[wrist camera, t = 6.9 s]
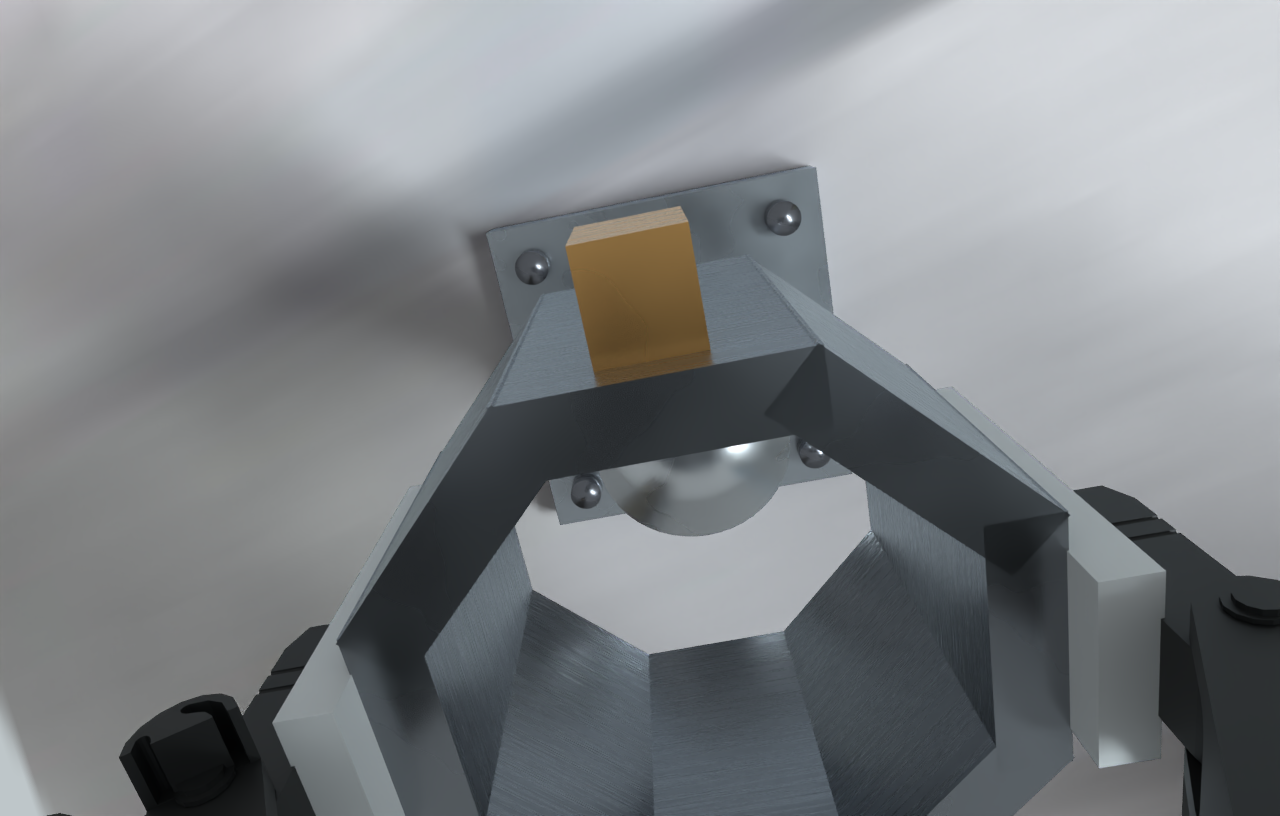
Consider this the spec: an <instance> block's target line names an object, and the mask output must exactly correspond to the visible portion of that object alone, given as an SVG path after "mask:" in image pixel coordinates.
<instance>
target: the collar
mask: <svg viewBox="0 0 1280 816" xmlns="http://www.w3.org/2000/svg"><path fill="white" fill-rule="evenodd" d="M565 248H566V252H567V257H568V261H569V266H570V270H571V274H572V279H573V283H574V289H569V290H564V291H559V292H554V293H549V294H545V293H543V295H541V296H540V298H539V300H538V302H537V304H536V306H535V307H534V309H533V311H532V312H531V314H530V315H529V317H528V318H527V320H526V321H525V323H524V325H523V326H522V328H521V329H520V331H519V332H518V334H517V336H516V337H515V339H514V340H513V342H512V343H511V345H510V346H509V348H508V350H507V351H506V353H505V354H504V356H503V357H502V359H501V361H500V362H499V364H498V365H497V367H496V368H495V370H494V371H493V373H492V375H491V376H490V378H489V379H488V381H487V382H486V384H485V386H484V387H483V389H482V390H481V392H480V393H479V395H478V396H477V398H476V400H475V401H474V403H473V404H472V406H471V407H470V409H469V411H468V412H467V414H466V415H465V417H464V418H463V420H462V421H461V423H460V425H459V426H458V428H457V429H456V431H455V432H454V434H453V436H452V437H451V439H450V440H449V442H448V443H447V445H446V446H445V448H444V450H443V451H441V452H440V454H439V456H438V458H437V459H436V461H435V463H434V465H433V467H432V468H431V470H430V472H429V474H428V476H427V477H426V479H425V481H424V483H423V485H422V486H421V488H420V490H419V492H418V494H417V495H416V497H415V499H414V501H413V503H412V504H411V506H410V508H409V510H408V512H407V513H406V515H405V517H404V519H403V521H402V522H401V524H400V526H399V528H398V530H397V531H396V533H395V535H394V537H393V539H392V540H391V542H390V544H389V546H388V548H387V549H386V551H385V553H384V555H383V557H382V558H381V560H380V562H379V564H378V566H377V567H376V569H375V571H374V573H373V575H372V576H371V578H370V580H369V582H368V584H367V585H366V587H365V589H364V591H363V593H362V595H361V596H360V598H359V600H358V602H357V604H356V605H355V607H354V609H353V611H352V613H351V614H350V616H349V618H348V620H347V622H346V623H345V625H344V627H343V629H342V631H341V632H340V634H339V636H338V638H337V643H336V645H338V646H339V648H340V651H341V653H342V656H343V659H344V661H345V664H346V667H347V669H348V672H349V674H350V675H352V677H353V680H354V683H355V685H356V688H357V690H358V693H359V696H360V698H361V701H362V704H363V706H364V709H365V711H366V714H367V717H368V719H369V722H370V725H371V727H372V730H373V732H374V735H375V738H376V740H377V743H378V746H379V748H380V751H381V753H382V756H383V759H384V761H385V764H386V766H387V769H388V772H389V774H390V777H391V780H392V782H393V785H394V787H395V790H396V793H397V795H398V798H399V801H400V803H401V806H402V808H403V811H404V814H405V816H1013V815H1014V814H1015V813H1016V812H1017V811H1018V810H1019V809H1021V808H1022V807H1023V806H1024V805H1025V804H1026V803H1027V802H1028V801H1029V800H1030V799H1031V798H1032V797H1033V796H1034V795H1035V794H1036V793H1037V792H1039V791H1040V790H1041V789H1042V788H1043V787H1044V786H1045V785H1046V784H1047V783H1048V782H1049V781H1050V780H1051V779H1052V778H1053V777H1054V776H1055V775H1057V774H1058V773H1059V772H1060V771H1061V770H1062V769H1063V768H1064V767H1065V766H1066V765H1067V764H1068V763H1069V762H1070V761H1073V758H1075V757H1074V755H1073V738H1072V730H1071V728H1070V681H1069V629H1068V577H1067V551H1069V524H1068V517H1069V516H1070V514H1069V513H1068V510H1067V509H1065V508H1064V507H1063V506H1062V505H1061V504H1060V503H1059V502H1058V501H1057V500H1056V499H1054V498H1053V497H1052V496H1051V495H1050V494H1049V493H1048V492H1047V491H1046V490H1045V489H1044V488H1042V487H1041V486H1040V485H1039V484H1038V483H1037V482H1036V481H1035V480H1034V479H1033V478H1031V477H1030V476H1029V475H1028V474H1027V473H1026V472H1025V471H1024V470H1023V469H1022V468H1020V467H1019V466H1018V465H1017V464H1016V463H1015V462H1014V461H1013V460H1012V459H1011V458H1009V457H1008V456H1007V455H1006V454H1005V453H1004V452H1003V451H1002V450H1001V449H1000V448H999V447H997V446H996V445H995V444H994V443H993V442H992V441H991V440H990V439H989V438H988V437H986V436H985V435H984V434H983V433H982V432H981V431H980V430H979V429H978V428H977V427H975V426H974V425H973V424H972V423H971V422H970V421H969V420H968V419H967V418H966V417H965V416H963V415H962V414H961V413H960V412H959V411H958V410H957V409H956V408H955V407H954V406H952V405H951V404H950V403H949V402H948V401H947V400H946V399H945V398H944V397H943V396H941V395H940V394H939V393H938V392H937V391H936V390H935V389H934V388H933V387H932V386H931V385H929V384H928V383H927V382H926V381H925V380H924V379H923V378H922V377H921V376H920V375H918V374H917V373H916V372H915V371H914V370H913V369H912V368H911V367H910V366H909V365H907V364H904V363H903V362H901V361H900V360H898V359H897V358H895V357H894V356H892V355H891V354H890V353H888V352H887V351H885V350H884V349H882V348H881V347H880V346H878V345H877V344H875V343H874V342H872V341H871V340H869V339H868V338H867V337H865V336H864V335H862V334H861V333H859V332H858V331H857V330H855V329H854V328H852V327H851V326H849V325H848V324H846V323H845V322H844V321H842V320H841V319H839V318H838V317H836V316H835V315H834V314H832V313H831V312H829V311H828V310H826V309H825V308H823V307H822V306H821V305H819V304H818V303H816V302H815V301H813V300H812V299H811V298H809V297H808V296H806V295H805V294H803V293H802V292H800V291H799V290H798V289H796V288H795V287H793V286H792V285H790V284H789V283H787V282H786V281H785V280H783V279H782V278H780V277H779V276H777V275H776V274H775V273H773V272H772V271H770V270H769V269H767V268H766V267H764V266H763V265H762V264H760V263H759V262H757V261H756V260H754V259H753V258H752V257H751V256H750V255H749V254H746V253H745V254H744V255H741V256H736V257H731V258H726V259H721V260H716V261H711V262H706V263H701V264H696V262H695V256H694V250H693V245H692V239H691V233H690V227H689V222H688V220H687V218H686V216H685V214H684V212H683V210H682V208H681V207H680V206H677V207H672V208H667V209H662V210H657V211H652V212H647V213H642V214H637V215H632V216H628V217H623V218H618V219H613V220H608V221H603V222H598V223H593V224H588V225H583V226H578V227H574V229H573V231H572V233H571V235H570V237H569V239H568V241H567V243H566V246H565ZM792 435H796V436H798V437H799V438H801V439H802V440H804V441H805V442H807V443H808V444H810V445H812V446H813V447H815V448H816V449H818V450H819V451H821V452H822V453H824V454H825V455H827V456H828V457H830V458H832V459H833V460H835V461H836V462H838V463H839V464H841V465H842V466H844V467H845V468H847V469H848V470H850V471H852V472H853V473H855V474H856V475H858V476H859V477H861V478H862V479H864V480H865V481H866V489H867V498H868V507H869V516H870V525H871V530H870V531H869V533H868V534H867V535H866V536H865V537H864V538H863V540H862V541H861V542H860V543H859V544H858V545H857V547H856V548H855V549H854V550H853V551H852V552H851V554H850V555H849V556H848V557H847V558H846V559H845V561H844V562H843V563H842V564H841V565H840V566H839V568H838V569H837V570H836V571H835V572H834V573H833V575H832V576H831V577H830V578H829V579H828V580H827V582H826V583H825V584H824V585H823V586H822V587H821V589H820V590H819V591H818V592H817V593H816V594H815V596H814V597H813V598H812V599H811V600H810V601H809V603H808V604H807V605H806V606H805V607H804V608H803V610H802V611H801V612H800V613H799V614H798V615H797V617H796V618H795V619H794V620H793V621H792V622H791V624H790V625H789V626H788V627H787V628H786V629H785V631H783V632H777V633H772V634H766V635H760V636H754V637H748V638H742V639H737V640H731V641H725V642H719V643H713V644H707V645H702V646H696V647H690V648H684V649H678V650H672V651H667V652H661V653H655V654H647V653H645V652H643V651H641V650H640V649H638V648H636V647H634V646H632V645H631V644H629V643H627V642H625V641H623V640H622V639H620V638H618V637H616V636H615V635H613V634H611V633H609V632H607V631H606V630H604V629H602V628H600V627H598V626H597V625H595V624H593V623H591V622H589V621H588V620H586V619H584V618H582V617H580V616H579V615H577V614H575V613H573V612H571V611H570V610H568V609H566V608H564V607H563V606H561V605H559V604H557V603H555V602H554V601H552V600H550V599H548V598H546V597H545V596H543V595H541V594H539V593H537V592H536V591H534V590H532V586H531V583H530V579H529V576H528V572H527V568H526V565H525V561H524V558H523V554H522V551H521V547H520V543H519V540H518V536H517V533H516V529H515V525H516V523H517V522H518V520H519V519H520V517H521V516H522V515H523V513H524V512H525V510H526V509H527V507H528V506H529V504H530V503H531V502H532V500H533V499H534V497H535V496H536V494H537V493H538V491H539V490H540V489H541V487H542V486H543V484H544V483H545V481H548V480H553V479H559V478H564V477H569V476H575V475H580V474H586V473H591V472H596V471H602V470H607V469H613V468H618V467H624V466H629V465H634V464H640V463H645V462H651V461H656V460H662V459H667V458H672V457H678V456H683V455H689V454H694V453H700V452H705V451H710V450H716V449H721V448H727V447H732V446H738V445H743V444H748V443H754V442H759V441H765V440H770V439H775V438H781V437H786V436H792Z"/></svg>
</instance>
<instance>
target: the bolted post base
mask: <svg viewBox="0 0 1280 816" xmlns="http://www.w3.org/2000/svg"><path fill="white" fill-rule="evenodd" d="M677 206H680V207H681V208H682V210H683V212H684V214H685V216H686V218H687V220H688V222H689V227H690V233H691V239H692V245H693V250H694V256H695V262H696V264H701V263H706V262H711V261H716V260H721V259H726V258H731V257H736V256H741V255H744V254H745V253H746V254H749V255H750V256H751V257H752V258H753V259H754V260H756V261H757V262H759V263H760V264H762V265H763V266H764V267H766V268H767V269H769V270H770V271H772V272H773V273H775V274H776V275H777V276H779V277H780V278H782V279H783V280H785V281H786V282H787V283H789V284H790V285H792V286H793V287H795V288H796V289H798V290H799V291H800V292H802V293H803V294H805V295H806V296H808V297H809V298H811V299H812V300H813V301H815V302H816V303H818V304H819V305H821V306H822V307H823V308H825V309H826V310H828V311H829V312H831V313H832V314H833V306H832V297H831V289H830V281H829V272H828V264H827V255H826V247H825V238H824V230H823V222H822V213H821V205H820V196H819V188H818V179H817V171H816V167H812V166H805V167H800V168H795V169H790V170H785V171H780V172H775V173H770V174H765V175H760V176H755V177H750V178H745V179H740V180H735V181H730V182H725V183H721V184H716V185H711V186H706V187H701V188H696V189H691V190H686V191H681V192H676V193H671V194H666V195H661V196H656V197H651V198H646V199H641V200H636V201H631V202H626V203H621V204H616V205H611V206H606V207H601V208H596V209H591V210H586V211H581V212H576V213H571V214H566V215H561V216H556V217H551V218H546V219H541V220H536V221H531V222H526V223H521V224H516V225H511V226H506V227H501V228H496V229H492V230H490V231H489V232H488V233H486V235H487V239H488V243H489V247H490V251H491V255H492V259H493V263H494V267H495V271H496V275H497V279H498V283H499V287H500V290H501V294H502V298H503V302H504V306H505V310H506V314H507V318H508V322H509V326H510V330H511V334H512V338H513V340H514V339H515V337H516V336H517V334H518V332H519V331H520V329H521V328H522V326H523V325H524V323H525V321H526V320H527V318H528V317H529V315H530V314H531V312H532V311H533V309H534V307H535V306H536V304H537V302H538V300H539V298H540V296H541V295H543V293H545V294H549V293H554V292H559V291H564V290H569V289H574V283H573V279H572V274H571V270H570V266H569V261H568V257H567V252H566V248H565V246H566V243H567V241H568V239H569V237H570V235H571V233H572V231H573V229H574V227H578V226H583V225H588V224H593V223H598V222H603V221H608V220H613V219H618V218H623V217H628V216H632V215H637V214H642V213H647V212H652V211H657V210H662V209H667V208H672V207H677ZM847 474H852V471H850V470H848V469H847V468H845V467H844V466H842V465H841V464H839V463H838V462H836V461H835V460H833V459H832V458H830V457H828V456H827V455H825V454H824V453H822V452H821V451H819V450H818V449H816V448H815V447H813V446H812V445H810V444H808V443H807V442H805V441H804V440H802V439H801V438H799V437H798V436H796V435H792V436H786V437H781V438H775V439H770V440H765V441H759V442H754V443H748V444H743V445H738V446H732V447H727V448H721V449H716V450H710V451H705V452H700V453H694V454H689V455H683V456H678V457H672V458H667V459H662V460H656V461H651V462H645V463H640V464H634V465H629V466H624V467H618V468H613V469H607V470H602V471H596V472H591V473H586V474H580V475H575V476H569V477H564V478H559V479H553V480H549V483H550V487H551V491H552V495H553V499H554V503H555V507H556V511H557V515H558V519H559V522H560V525H563V524H568V523H574V522H580V521H586V520H591V519H597V518H603V517H608V516H614V515H620V514H625V513H627V514H628V515H629V516H630V517H632V518H633V519H635V520H636V521H638V522H639V523H641V524H643V525H645V526H647V527H649V528H651V529H654V530H657V531H659V532H663V533H667V534H671V535H679V536H703V535H710V534H715V533H719V532H722V531H725V530H728V529H731V528H733V527H735V526H737V525H739V524H741V523H743V522H745V521H746V520H748V519H749V518H751V517H752V516H754V515H755V514H756V513H757V512H758V511H759V510H761V509H762V508H763V507H764V506H765V505H766V503H767V502H768V501H769V500H770V499H771V498H772V496H773V495H774V493H775V492H776V491H777V489H778V487H779V486H785V485H790V484H796V483H802V482H807V481H813V480H819V479H825V478H830V477H836V476H842V475H847Z"/></svg>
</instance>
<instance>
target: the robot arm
mask: <svg viewBox="0 0 1280 816" xmlns="http://www.w3.org/2000/svg"><path fill="white" fill-rule="evenodd" d="M936 391H937V392H938V393H939V394H940V395H941V396H943V397H944V398H945V399H946V400H947V401H948V402H949V403H950V404H951V405H952V406H954V407H955V408H956V409H957V410H958V411H959V412H960V413H961V414H962V415H963V416H965V417H966V418H967V419H968V420H969V421H970V422H971V423H972V424H973V425H974V426H975V427H977V428H978V429H979V430H980V431H981V432H982V433H983V434H984V435H985V436H986V437H988V438H989V439H990V440H991V441H992V442H993V443H994V444H995V445H996V446H997V447H999V448H1000V449H1001V450H1002V451H1003V452H1004V453H1005V454H1006V455H1007V456H1008V457H1009V458H1011V459H1012V460H1013V461H1014V462H1015V463H1016V464H1017V465H1018V466H1019V467H1020V468H1022V469H1023V470H1024V471H1025V472H1026V473H1027V474H1028V475H1029V476H1030V477H1031V478H1033V479H1034V480H1035V481H1036V482H1037V483H1038V484H1039V485H1040V486H1041V487H1042V488H1044V489H1045V490H1046V491H1047V492H1048V493H1049V494H1050V495H1051V496H1052V497H1053V498H1054V499H1056V500H1057V501H1058V502H1059V503H1060V504H1061V505H1062V506H1063V507H1064V508H1065V509H1067V510H1068V513H1069V514H1070V516H1069V517H1068V524H1069V551H1067V577H1068V629H1069V681H1070V728H1071V730H1072V731H1073V733H1074V734H1075V735H1076V737H1077V738H1078V740H1079V741H1080V742H1081V744H1082V745H1083V747H1084V748H1085V749H1086V751H1087V752H1088V754H1089V755H1090V756H1091V758H1092V759H1093V761H1094V762H1095V763H1096V765H1097V766H1098V768H1104V767H1111V766H1117V765H1123V764H1130V763H1136V762H1142V761H1149V760H1155V759H1161V732H1162V721H1163V722H1164V723H1165V724H1166V725H1167V726H1168V728H1169V729H1170V730H1171V731H1172V732H1173V733H1174V734H1175V736H1176V737H1177V738H1178V739H1179V740H1180V741H1181V742H1182V744H1183V745H1184V746H1185V755H1184V779H1183V803H1182V816H1280V581H1278V580H1273V579H1267V578H1260V577H1254V576H1236V575H1234V574H1233V573H1232V572H1230V571H1229V570H1228V569H1226V568H1225V567H1224V566H1223V565H1221V564H1220V563H1219V562H1217V561H1216V560H1215V559H1213V558H1212V557H1211V556H1210V555H1208V554H1207V553H1206V552H1204V551H1203V550H1202V549H1200V548H1199V547H1198V546H1197V545H1195V544H1194V543H1193V542H1191V541H1190V540H1189V539H1187V538H1186V537H1185V536H1184V535H1182V534H1181V533H1176V529H1174V528H1173V527H1172V526H1171V525H1169V524H1168V523H1167V522H1165V521H1164V520H1163V519H1158V517H1157V515H1156V514H1155V513H1154V512H1152V511H1151V510H1150V509H1148V508H1147V507H1146V506H1145V505H1143V504H1142V503H1141V502H1139V501H1138V500H1137V499H1135V498H1134V497H1131V496H1128V495H1126V494H1123V493H1120V492H1118V491H1115V490H1112V489H1110V488H1107V487H1105V486H1096V487H1091V488H1085V489H1079V490H1074V491H1073V490H1072V489H1070V488H1069V487H1068V486H1067V485H1066V484H1065V483H1063V482H1062V481H1061V480H1060V479H1059V478H1058V477H1056V476H1055V475H1054V474H1053V473H1052V472H1051V471H1049V470H1048V469H1047V468H1046V467H1045V466H1044V465H1042V464H1041V463H1040V462H1039V461H1038V460H1037V459H1036V458H1034V457H1033V456H1032V455H1031V454H1030V453H1029V452H1027V451H1026V450H1025V449H1024V448H1023V447H1022V446H1020V445H1019V444H1018V443H1017V442H1016V441H1015V440H1013V439H1012V438H1011V437H1010V436H1009V435H1008V434H1006V433H1005V432H1004V431H1003V430H1002V429H1001V428H1000V427H998V426H997V425H996V424H995V423H994V422H993V421H991V420H990V419H989V418H988V417H987V416H986V415H984V414H983V413H982V412H981V411H980V410H979V409H977V408H976V407H975V406H974V405H973V404H972V403H970V402H969V401H968V400H967V399H966V398H965V397H963V396H962V395H961V394H960V393H959V392H958V391H957V390H955V389H954V388H953V387H948V388H942V389H937V390H936ZM421 486H422V485H418V486H412V487H410V488H409V489H408V491H407V493H406V494H405V496H404V498H403V500H402V501H401V503H400V505H399V506H398V508H397V510H396V512H395V513H394V515H393V517H392V518H391V520H390V522H389V524H388V525H387V527H386V529H385V530H384V532H383V534H382V536H381V537H380V539H379V541H378V542H377V544H376V546H375V548H374V549H373V551H372V553H371V555H370V556H369V558H368V560H367V561H366V563H365V565H364V567H363V568H362V570H361V572H360V573H359V575H358V577H357V579H356V580H355V582H354V584H353V585H352V587H351V589H350V591H349V592H348V594H347V596H346V597H345V599H344V601H343V603H342V604H341V606H340V608H339V609H338V611H337V613H336V615H335V616H334V618H333V620H332V621H331V623H330V624H327V625H321V626H316V627H310V628H309V629H308V630H307V631H305V632H304V633H303V634H302V635H301V636H300V637H299V638H297V639H296V640H295V641H294V642H293V643H292V644H291V645H289V646H288V647H287V648H286V649H285V650H284V652H283V654H282V655H281V657H280V658H279V660H278V661H277V663H276V664H275V666H274V668H273V669H272V671H271V676H268V677H267V679H266V680H265V682H264V683H263V685H262V686H261V688H260V690H259V694H258V695H256V696H255V697H254V699H253V700H252V702H251V704H250V705H249V707H248V708H247V710H246V711H245V713H244V715H243V716H242V714H241V712H240V710H239V708H238V706H237V704H236V702H235V700H234V698H233V697H230V696H227V695H224V694H211V695H202V696H199V697H196V698H193V699H190V700H187V701H183V702H181V703H179V704H177V705H175V706H173V707H171V708H169V709H167V710H165V711H163V712H161V713H160V714H158V715H157V716H155V717H154V718H153V719H151V720H150V721H149V722H147V723H146V724H144V725H143V726H142V727H140V728H139V729H138V730H137V731H136V733H135V734H134V735H133V736H132V737H131V738H130V739H129V740H128V741H127V742H126V743H125V746H124V748H123V750H122V752H121V754H120V756H119V759H120V761H121V763H122V764H123V766H124V768H125V770H126V772H127V774H128V776H129V778H130V780H131V782H132V784H133V785H134V787H135V789H136V791H137V793H138V795H139V797H140V799H141V801H142V803H143V805H144V807H145V808H146V810H147V814H146V815H145V816H405V814H404V811H403V808H402V806H401V803H400V801H399V798H398V795H397V793H396V790H395V787H394V785H393V782H392V780H391V777H390V774H389V772H388V769H387V766H386V764H385V761H384V759H383V756H382V753H381V751H380V748H379V746H378V743H377V740H376V738H375V735H374V732H373V730H372V727H371V725H370V722H369V719H368V717H367V714H366V711H365V709H364V706H363V704H362V701H361V698H360V696H359V693H358V690H357V688H356V685H355V683H354V680H353V677H352V675H350V674H349V672H348V669H347V667H346V664H345V661H344V659H343V656H342V653H341V651H340V648H339V646H338V645H336V643H337V638H338V636H339V634H340V632H341V631H342V629H343V627H344V625H345V623H346V622H347V620H348V618H349V616H350V614H351V613H352V611H353V609H354V607H355V605H356V604H357V602H358V600H359V598H360V596H361V595H362V593H363V591H364V589H365V587H366V585H367V584H368V582H369V580H370V578H371V576H372V575H373V573H374V571H375V569H376V567H377V566H378V564H379V562H380V560H381V558H382V557H383V555H384V553H385V551H386V549H387V548H388V546H389V544H390V542H391V540H392V539H393V537H394V535H395V533H396V531H397V530H398V528H399V526H400V524H401V522H402V521H403V519H404V517H405V515H406V513H407V512H408V510H409V508H410V506H411V504H412V503H413V501H414V499H415V497H416V495H417V494H418V492H419V490H420V488H421ZM48 816H70V815H66V814H61V813H58V814H53V815H48Z"/></svg>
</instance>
